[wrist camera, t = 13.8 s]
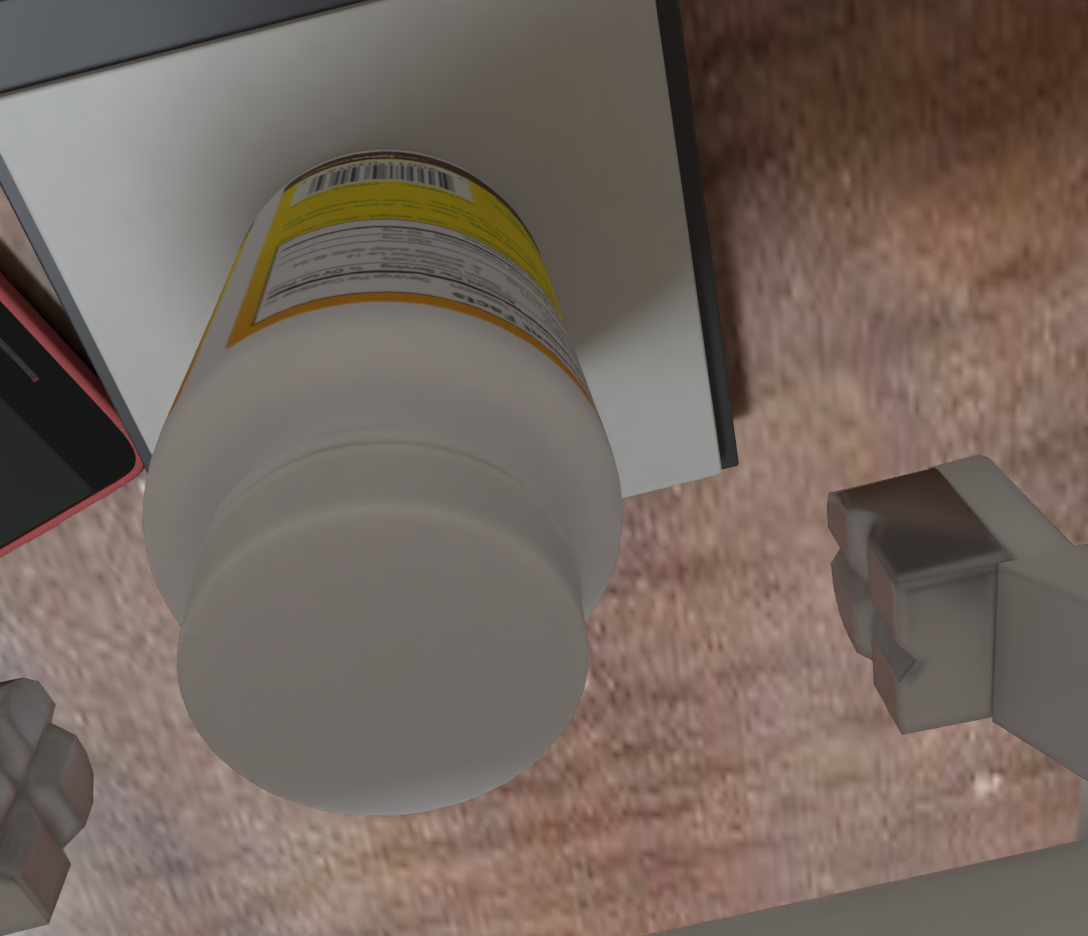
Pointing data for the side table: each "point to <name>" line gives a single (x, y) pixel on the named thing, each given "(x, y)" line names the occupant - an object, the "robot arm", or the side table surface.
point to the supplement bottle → (383, 496)
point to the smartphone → (51, 428)
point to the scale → (360, 125)
